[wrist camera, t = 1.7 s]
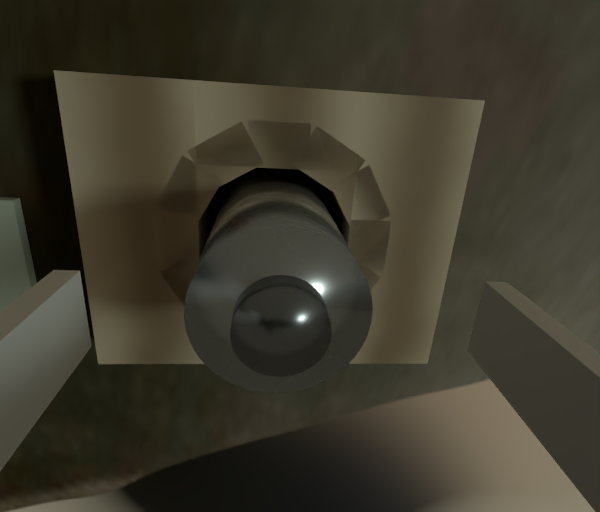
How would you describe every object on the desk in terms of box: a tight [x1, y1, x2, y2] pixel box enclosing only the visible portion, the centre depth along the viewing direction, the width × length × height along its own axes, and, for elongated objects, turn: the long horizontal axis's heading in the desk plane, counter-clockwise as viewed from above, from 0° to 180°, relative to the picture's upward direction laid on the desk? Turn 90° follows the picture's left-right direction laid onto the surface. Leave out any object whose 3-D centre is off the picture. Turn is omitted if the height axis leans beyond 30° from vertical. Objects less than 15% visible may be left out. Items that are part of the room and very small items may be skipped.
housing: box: [54, 71, 485, 364], centre depth 20 cm, size 18×14×3 cm
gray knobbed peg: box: [184, 171, 373, 393], centre depth 17 cm, size 6×6×11 cm
